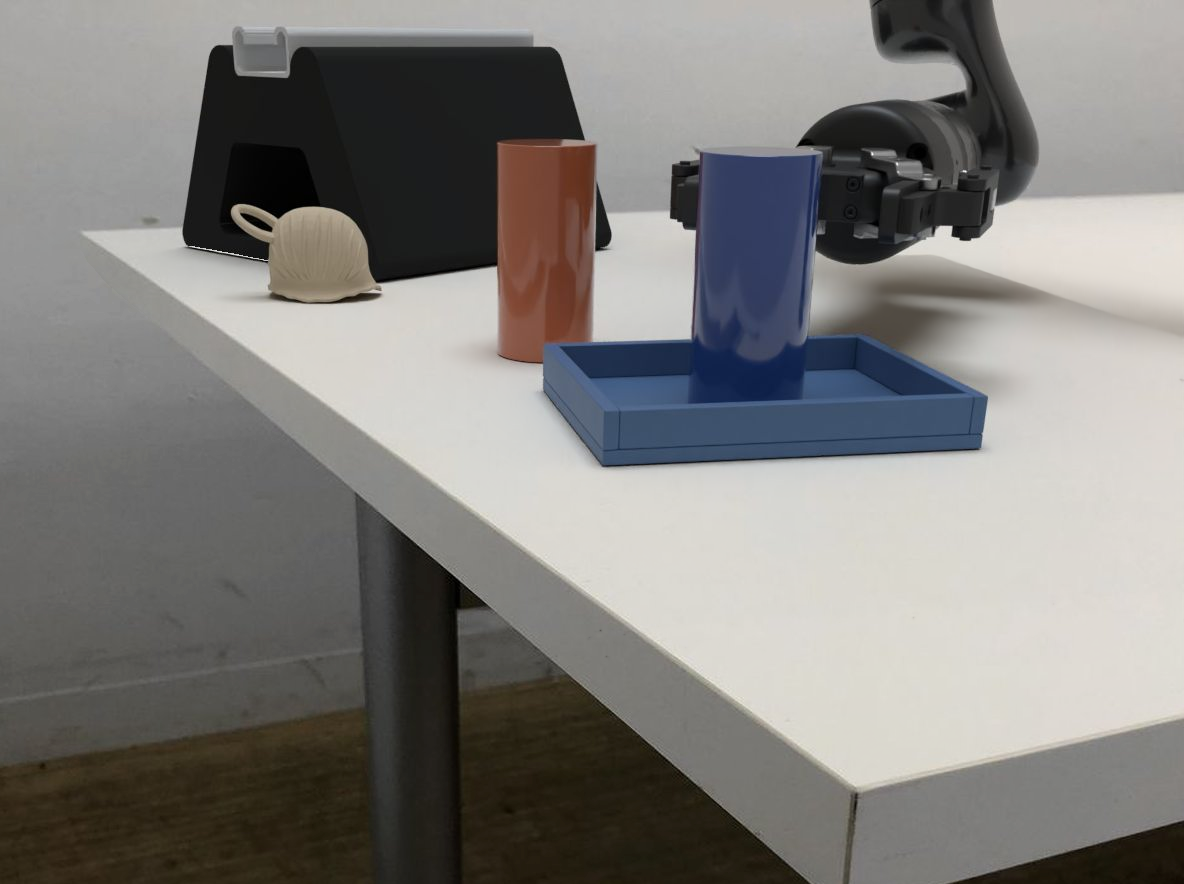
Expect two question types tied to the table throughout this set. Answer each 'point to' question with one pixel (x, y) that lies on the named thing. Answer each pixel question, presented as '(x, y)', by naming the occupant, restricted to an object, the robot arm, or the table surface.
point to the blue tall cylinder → (753, 273)
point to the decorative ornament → (312, 253)
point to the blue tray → (758, 404)
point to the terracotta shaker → (545, 244)
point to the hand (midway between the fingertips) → (786, 210)
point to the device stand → (373, 136)
